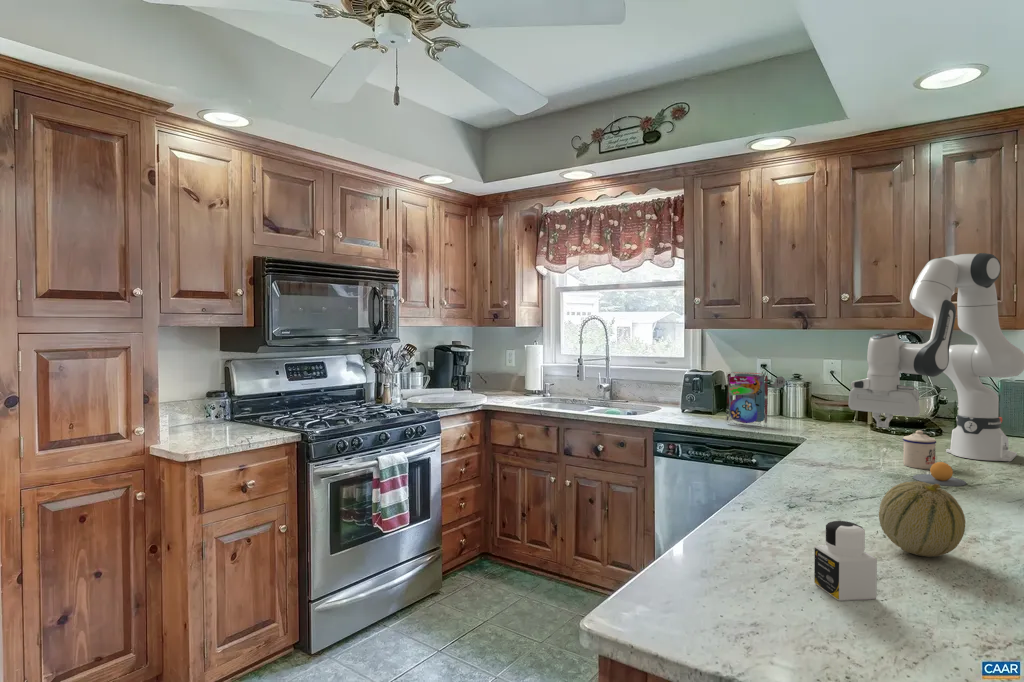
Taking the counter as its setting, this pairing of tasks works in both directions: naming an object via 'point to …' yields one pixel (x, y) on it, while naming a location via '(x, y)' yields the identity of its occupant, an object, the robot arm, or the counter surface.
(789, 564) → the counter surface
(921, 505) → the cantaloupe
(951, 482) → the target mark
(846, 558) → the medicine bottle
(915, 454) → the teacup with lid
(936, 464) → the ball
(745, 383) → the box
